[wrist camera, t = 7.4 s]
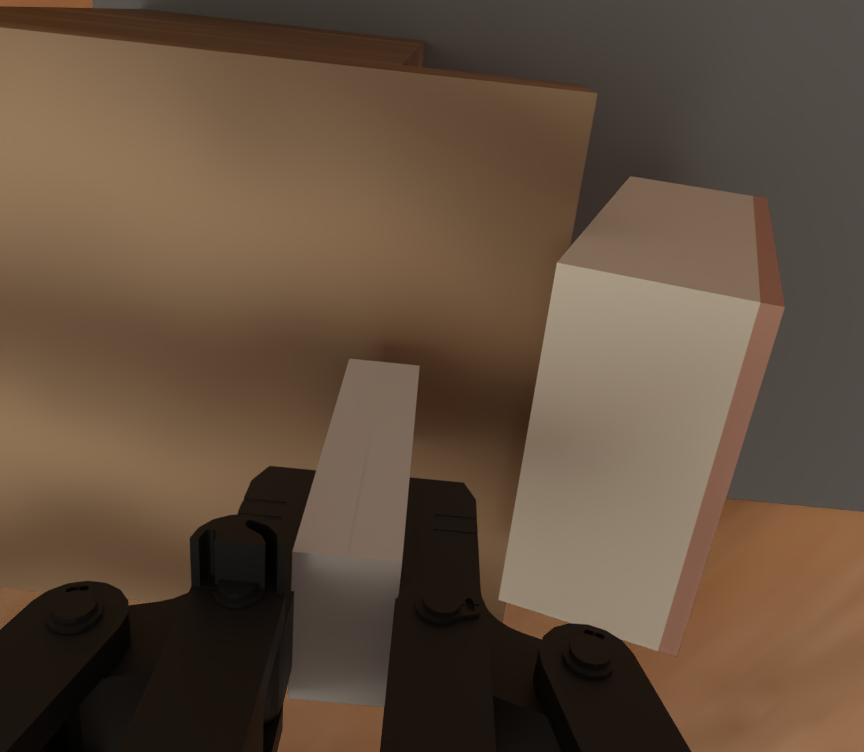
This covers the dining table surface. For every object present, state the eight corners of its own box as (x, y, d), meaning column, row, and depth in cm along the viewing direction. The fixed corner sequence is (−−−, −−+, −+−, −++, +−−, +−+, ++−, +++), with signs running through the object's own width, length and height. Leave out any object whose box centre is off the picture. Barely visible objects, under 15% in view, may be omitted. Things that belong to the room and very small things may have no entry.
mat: (931, 514, 43) (935, 518, 43) (127, 435, 42) (124, 438, 42) (1189, -66, 31) (1198, -68, 31) (83, -196, 30) (78, -199, 30)
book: (582, 406, 27) (700, 435, 26) (498, 599, 18) (676, 657, 17) (630, 176, 24) (766, 198, 23) (556, 262, 15) (784, 307, 13)
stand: (477, 349, 40) (500, 634, 21) (158, 317, 39) (-93, 578, 21) (518, 50, 34) (597, 93, 16) (144, 9, 33) (-224, 2, 15)
